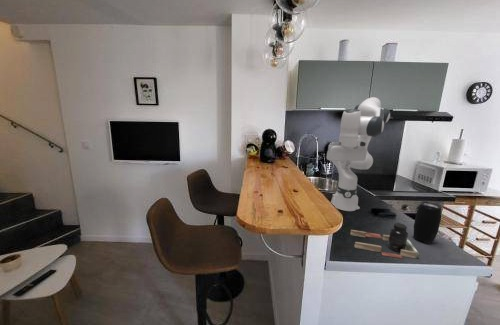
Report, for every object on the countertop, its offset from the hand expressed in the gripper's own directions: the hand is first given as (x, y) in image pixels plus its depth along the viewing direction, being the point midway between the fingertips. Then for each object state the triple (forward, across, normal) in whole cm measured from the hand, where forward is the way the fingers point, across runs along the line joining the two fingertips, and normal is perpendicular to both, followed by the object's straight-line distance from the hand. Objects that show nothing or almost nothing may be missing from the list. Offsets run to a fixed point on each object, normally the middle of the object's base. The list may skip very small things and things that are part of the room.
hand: (344, 168), depth 108 cm
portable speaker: (+34, +38, -16) cm, 53 cm away
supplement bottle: (+34, +18, -20) cm, 44 cm away
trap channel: (+34, +13, -16) cm, 40 cm away
